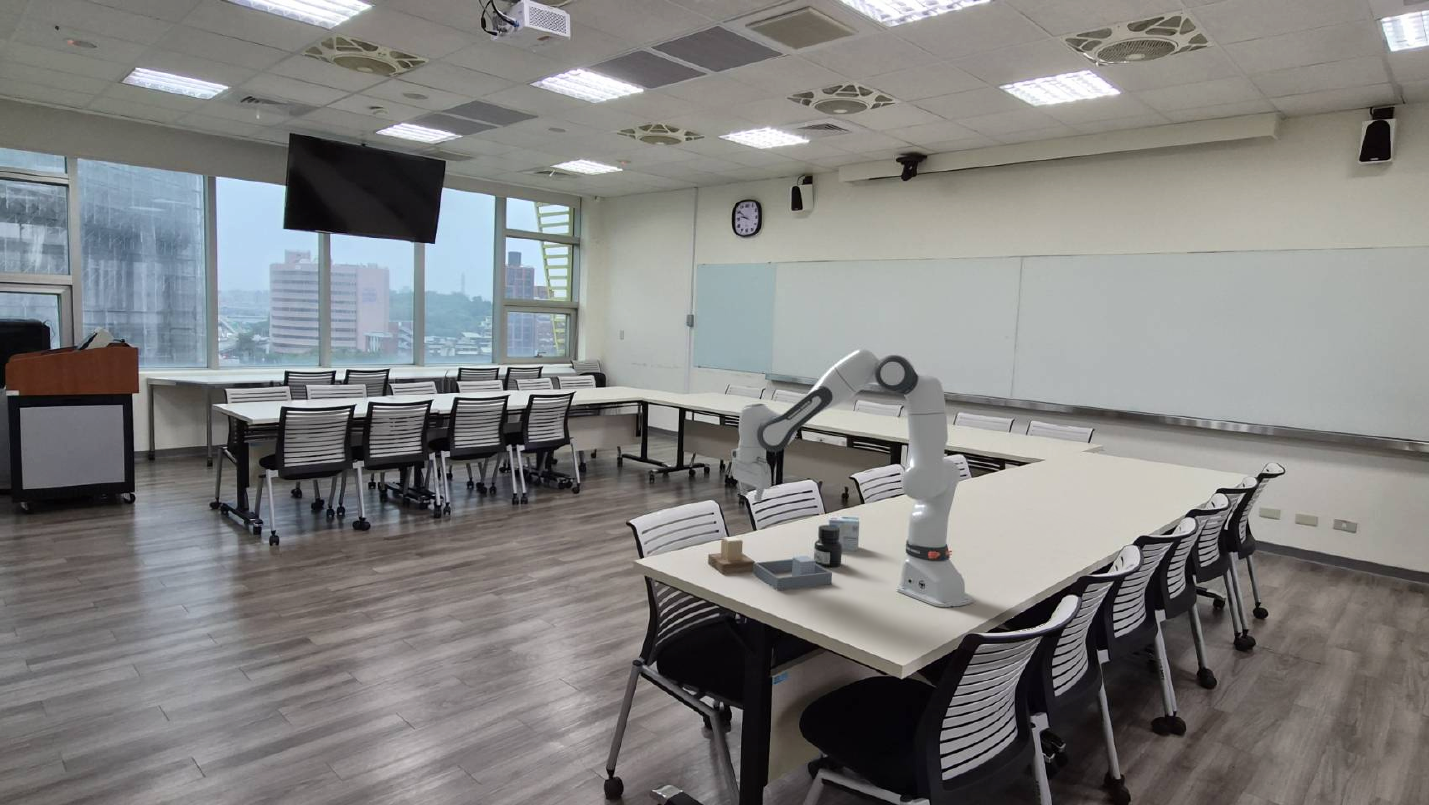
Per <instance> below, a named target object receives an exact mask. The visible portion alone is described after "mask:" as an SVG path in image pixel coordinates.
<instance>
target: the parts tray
mask: <svg viewBox="0 0 1429 805" xmlns="http://www.w3.org/2000/svg"><path fill="white" fill-rule="evenodd" d="M792 564H793V558H789V559H787V558H786V559H779V560H769V561H759V562H755V563H753V571H752V575H754V576H755V575H756V576H755V577H757V578H758V577H759V578H758V579H760V580H761V581H763V580H764V581H765V582H764V581H763V582H764V583H766V584H767V583H768V584H769V585H768V584H767V585H768V586H769V587H771V586H773V587H774V588H776V589H777V590H776V589H775V590H776V591H782V590H781V589H785V590H790V589H791V588H793V589H802V588H810V587H817V586H826V585H832V582H833V581H832V580H833V572H831V571H830V570H828V569H826V567H823V566H820V565H818V564H816V563H815V574H807V575H798V576H792V575H791V576H782V577H781V576H779V577H778V576H777V575H776V574H774V573H781V572H782V573H783V572H792ZM773 587H772V588H773ZM799 587H800V588H799ZM801 587H802V588H801ZM774 588H773V589H774ZM789 588H790V589H789ZM779 589H780V590H779Z"/></svg>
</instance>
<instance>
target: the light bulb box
mask: <svg viewBox="0 0 1429 805" xmlns="http://www.w3.org/2000/svg"><path fill="white" fill-rule="evenodd" d="M827 522H828V523H827V525H832V526H837V527H839V528H840V534H839V540H838V541H839V542H840V543H841V545H842V551H850V552H858V551H859V539H860V538H859V537H860V518H859V517H858V516H845V515H844V516H842V515H841V516H839V515H828V521H827Z"/></svg>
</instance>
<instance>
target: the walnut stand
mask: <svg viewBox="0 0 1429 805" xmlns="http://www.w3.org/2000/svg"><path fill="white" fill-rule="evenodd" d="M707 558H708V559H707V563H708V565H710V566H711V567H712V568H714V569H715V570H716V571H718V572H719V573H720V572H721V573H720V574H722V575H725V574H726V573H727V574H735V573H736V572H737V573H744V572H746V573H747V572H753V563H756V561H755V560H754V559H752V558H751V557H748V556H747V555H746V554H744V553H743V552H742V559H741V560H731V561H727V560H726V559H724V558H723V557H721V552H719V553H710V554H709V553H708V556H707ZM727 574H726V575H727Z"/></svg>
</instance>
